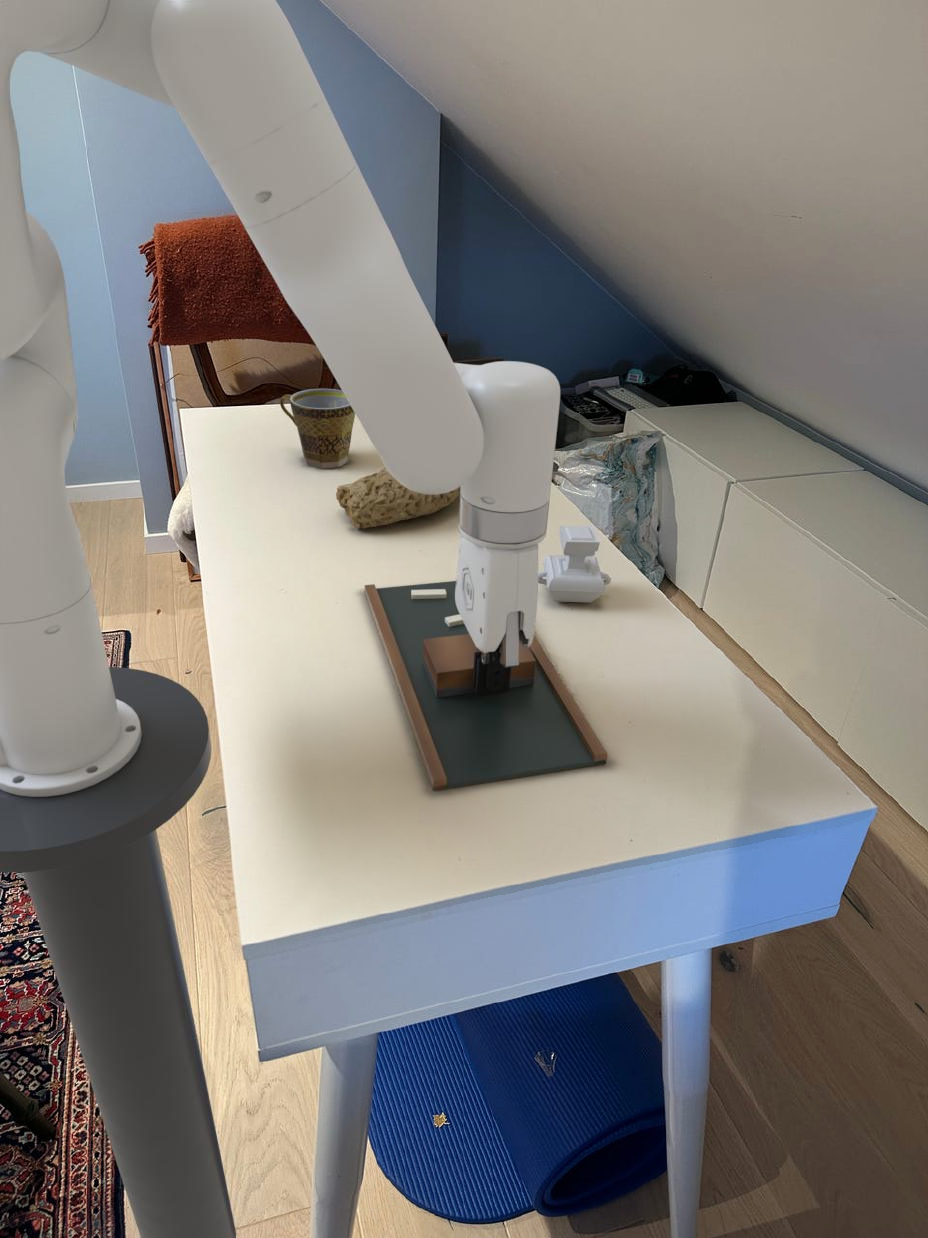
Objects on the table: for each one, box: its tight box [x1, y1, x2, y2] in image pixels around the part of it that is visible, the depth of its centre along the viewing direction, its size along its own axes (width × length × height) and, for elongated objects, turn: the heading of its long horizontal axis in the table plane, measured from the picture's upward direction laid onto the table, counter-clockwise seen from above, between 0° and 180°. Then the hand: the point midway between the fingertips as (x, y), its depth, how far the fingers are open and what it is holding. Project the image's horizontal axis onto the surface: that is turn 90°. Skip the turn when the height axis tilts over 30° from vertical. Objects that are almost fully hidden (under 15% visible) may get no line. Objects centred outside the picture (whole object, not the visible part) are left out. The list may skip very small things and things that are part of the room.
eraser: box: [423, 634, 536, 698], centre depth 86 cm, size 10×6×3 cm, turn 106°
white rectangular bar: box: [411, 589, 447, 599], centre depth 100 cm, size 4×1×1 cm, turn 97°
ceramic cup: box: [279, 388, 356, 470], centre depth 133 cm, size 13×10×10 cm
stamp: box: [538, 525, 612, 603], centre depth 101 cm, size 9×7×8 cm
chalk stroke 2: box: [445, 614, 464, 627], centre depth 96 cm, size 4×1×1 cm, turn 115°
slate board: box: [364, 580, 608, 792], centre depth 89 cm, size 16×34×1 cm, turn 15°
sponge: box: [335, 466, 460, 529], centre depth 120 cm, size 13×8×20 cm
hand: (490, 689), depth 83 cm, fingers closed
